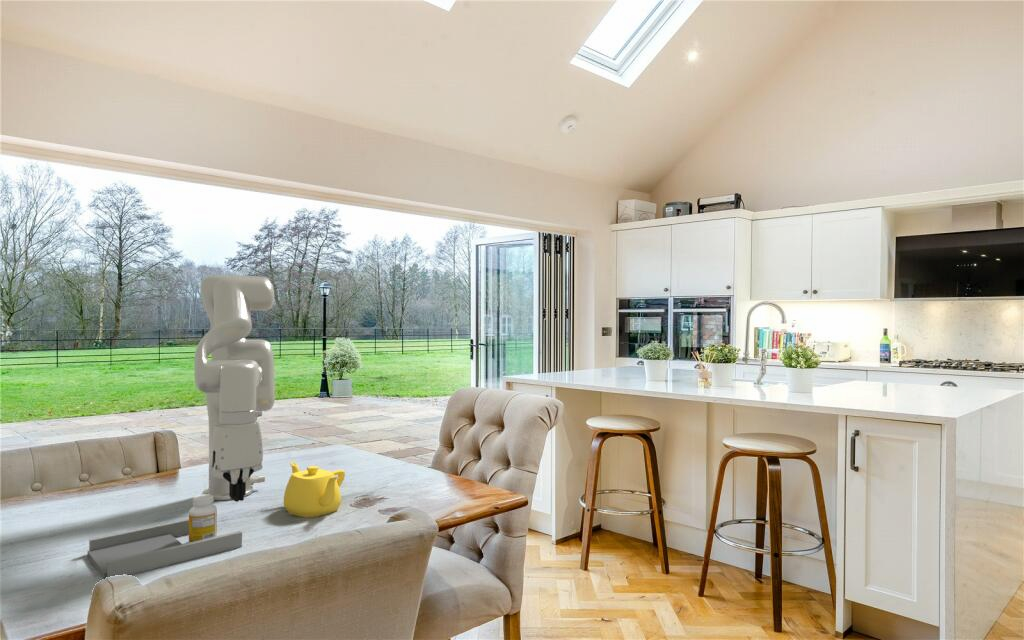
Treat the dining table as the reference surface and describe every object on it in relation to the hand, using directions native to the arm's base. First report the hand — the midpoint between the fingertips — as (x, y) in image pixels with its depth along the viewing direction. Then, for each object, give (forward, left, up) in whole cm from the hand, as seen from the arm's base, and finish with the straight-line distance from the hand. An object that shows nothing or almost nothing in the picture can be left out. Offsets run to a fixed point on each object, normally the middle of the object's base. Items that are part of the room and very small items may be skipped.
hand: (237, 499), depth 137 cm
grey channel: (+14, 0, -8) cm, 16 cm away
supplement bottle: (+7, 0, -8) cm, 11 cm away
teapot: (-22, -5, -8) cm, 24 cm away
